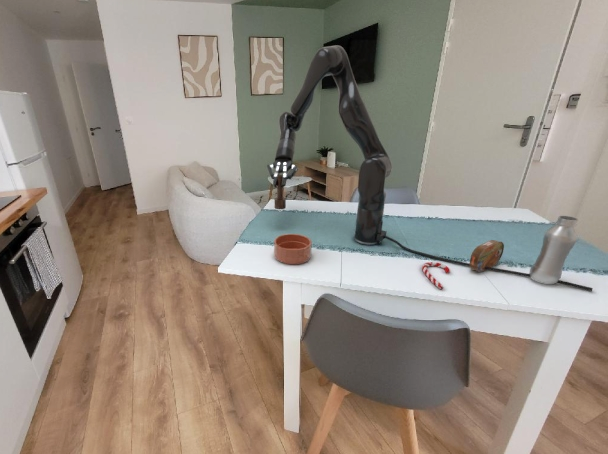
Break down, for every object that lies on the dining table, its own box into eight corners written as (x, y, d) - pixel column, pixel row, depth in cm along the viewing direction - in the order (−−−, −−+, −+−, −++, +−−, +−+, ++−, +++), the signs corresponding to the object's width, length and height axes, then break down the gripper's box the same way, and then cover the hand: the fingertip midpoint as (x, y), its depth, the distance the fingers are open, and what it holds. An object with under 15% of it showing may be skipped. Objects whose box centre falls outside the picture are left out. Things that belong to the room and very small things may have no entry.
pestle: (286, 206, 127) (286, 174, 121) (284, 209, 123) (284, 177, 117) (276, 205, 128) (275, 174, 123) (273, 209, 124) (272, 176, 119)
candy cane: (428, 284, 85) (420, 259, 98) (427, 287, 85) (419, 263, 98) (459, 288, 82) (447, 263, 95) (458, 292, 83) (446, 266, 95)
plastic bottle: (520, 276, 89) (544, 214, 81) (541, 274, 89) (566, 213, 81) (542, 288, 83) (569, 223, 75) (564, 286, 83) (593, 221, 75)
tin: (475, 275, 90) (482, 251, 87) (464, 271, 92) (471, 247, 89) (500, 262, 96) (508, 239, 93) (489, 258, 99) (497, 236, 95)
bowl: (312, 250, 110) (313, 235, 108) (307, 267, 99) (308, 251, 96) (278, 246, 114) (278, 232, 112) (270, 262, 103) (270, 247, 101)
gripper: (267, 146, 125) (260, 181, 119) (300, 146, 120) (294, 182, 114) (271, 157, 131) (264, 190, 125) (302, 157, 127) (296, 191, 121)
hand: (278, 186), depth 120 cm, fingers closed on pestle, 2 cm apart
